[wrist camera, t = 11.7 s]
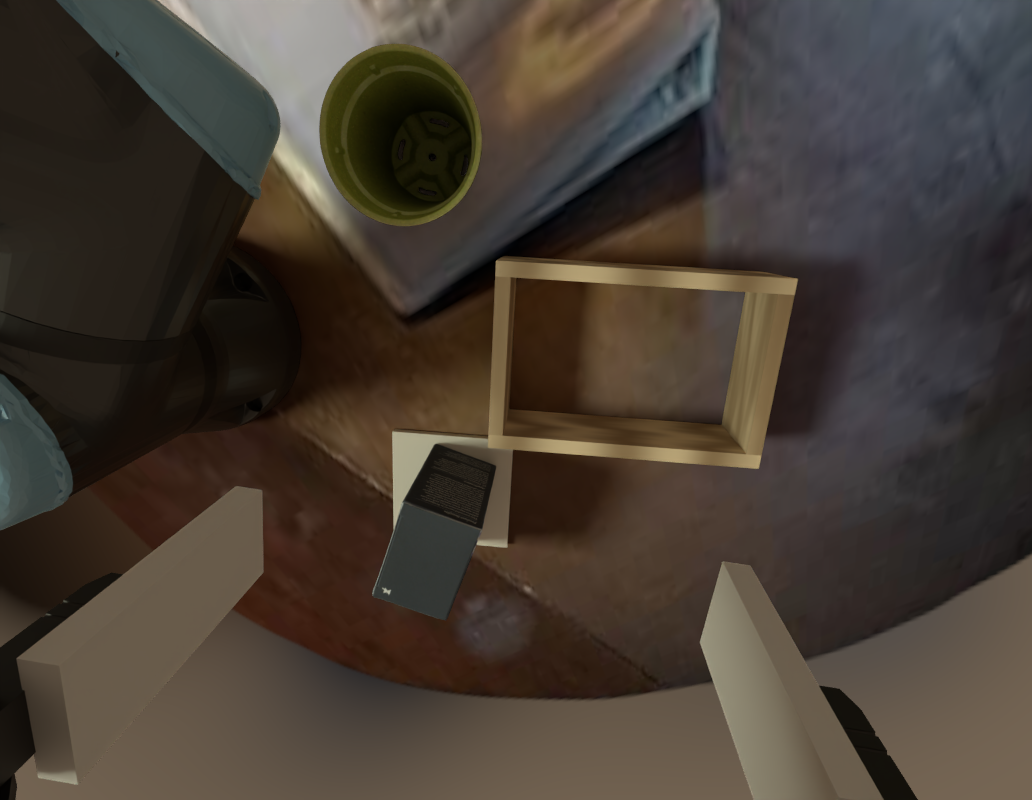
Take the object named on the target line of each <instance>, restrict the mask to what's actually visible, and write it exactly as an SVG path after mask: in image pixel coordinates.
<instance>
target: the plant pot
mask: <svg viewBox="0 0 1032 800" xmlns="http://www.w3.org/2000/svg"><path fill="white" fill-rule="evenodd" d="M432 118H433V119H437V120H444V121H446V122H447V123H448V125H449V126H448V127H444V126H442V125H439V124H434V123H430V120H431V119H432ZM319 131H320V145H321V150H322V154H323V158H324V162H325V165H326V168H327V170H328V172H329V175H330V177H331V178H332V180H333V182H334V184H335V186H336V187H337V189H338V190H339V192H340V193H341V194H342V196H343V197H344V198H345V199H346V200H347V201H348V202H349V203H350V204H351V205H352V206H353V207H354V208H356V209H357V210H358V211H359V212H361V213H362V214H364V215H366V216H367V217H369V218H371V219H374V220H376V221H378V222H381V223H385V224H389V225H394V226H415V225H420V224H424V223H428V222H430V221H433V220H435V219H438V218H439V217H441V216H443V215H445V214H446V213H448V212H449V211H450V210H452V209H453V208H454V207H455V206H456V205H457V204H458V203H459V202H460V201H461V200H462V199H463V197H464V196H465V195H466V193H467V192H468V190H469V188H470V187H471V185H472V183H473V181H474V179H475V176H476V174H477V171H478V167H479V164H480V159H481V152H482V131H481V123H480V118H479V114H478V111H477V107H476V104H475V102H474V99H473V97H472V95H471V93H470V91H469V89H468V88H467V86H466V84H465V83H464V81H463V80H462V78H461V77H460V76H459V75H458V73H457V72H456V71H455V70H454V69H453V68H452V67H451V66H450V65H449V64H448V63H446V62H445V61H444V60H443V59H441V58H440V57H438V56H437V55H435V54H433V53H431V52H429V51H427V50H425V49H422V48H419V47H415V46H411V45H406V44H385V45H380V46H376V47H372V48H370V49H368V50H366V51H364V52H362V53H360V54H358V55H357V56H355V57H353V58H352V59H351V60H350V61H348V62H347V63H346V64H345V65H344V66H343V67H342V69H341V70H340V71H339V72H338V73H337V74H336V76H335V77H334V79H333V80H332V82H331V84H330V86H329V88H328V90H327V92H326V95H325V98H324V101H323V105H322V109H321V115H320V127H319ZM403 139H404V140H405V141H406V142H405V146H404V149H403V159H402V160H400V159H399V158H398V149H399V144H400V142H401V140H403ZM430 154H434V155H435V156H436V160H434V161H431V160H430V159H429V155H430ZM465 155H466V157H467V158H468V166H467V171H466V174H465V175H464V176H462V175H461V174H460V173H461V170H462V167H463V163H464V156H465ZM419 188H423V189H426V190H429V191H435V192H436V194H435V195H434V196H432V195H426V194H422V193H420V191H419Z"/></svg>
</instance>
